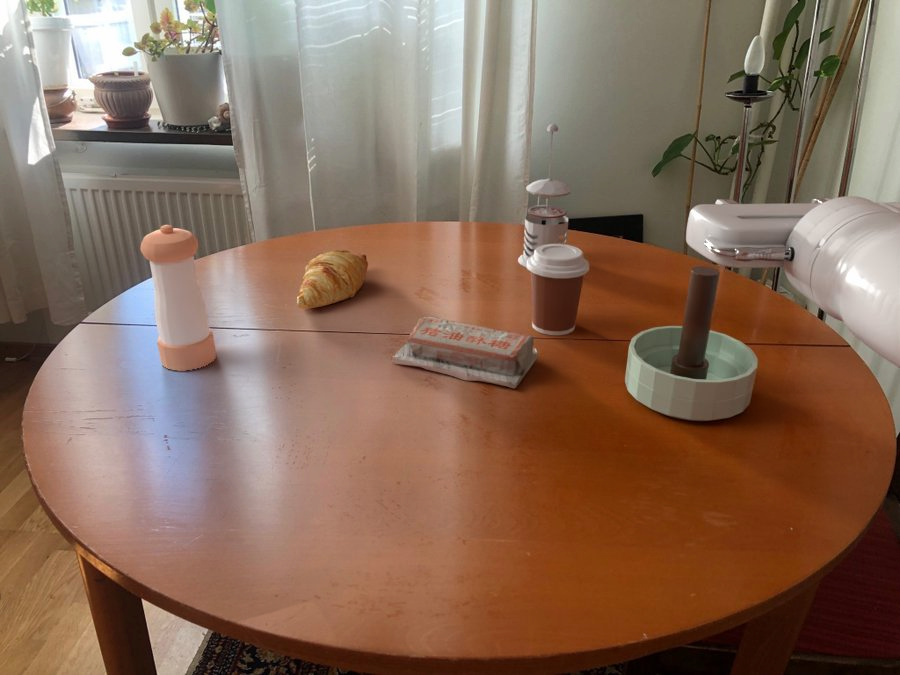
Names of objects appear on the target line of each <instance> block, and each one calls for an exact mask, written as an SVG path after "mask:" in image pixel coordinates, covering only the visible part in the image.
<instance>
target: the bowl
mask: <svg viewBox="0 0 900 675" xmlns="http://www.w3.org/2000/svg"><path fill="white" fill-rule="evenodd" d="M682 326H683V325H667V326H666V325H665V326H664V325H663V326H656V327H651V328H648V329H645V330H642V331H640V332H638V333H637V334H636V335H634V336H633V337H631V340H630V342H629V345H628V351H627V360H626V368H625V377H624V383H625V386H626V389H627V392H628V393H629V394H630V396H632V397H633V398H634V399H635V400H636V401H637V402H639V403H641V404H642V405H644V406H646V407H647V408H649V409H650V410H652V411H654V412H657V413H658V414H661V415H665V416H667V417H671V418H675V419H679V420H684V421H694V422H710V421H716V420H717V421H718V420H723V419H724V420H725V419H729V418H731V417H734V416H737V415H739V414H741V413H743V412H744V411H745V410H746V409H747V408H748V407H749V406H750V404H751V400H752V396H753V395H752V394H753V390H754V385H755V382H756V381H755V380H756V375H757V370H758V364H759V363H758V362H759V358H758V356H757V355H756V354H755V352H754V350H753V349H752V348H750V347H749V346H748V345H746V344H745V343H744V342H742V341H741V340H738V339H737V338H734V337H732V336H730V335H728V334H725V333H722V332H718V331H716V330H711V329H710V332H709V337H708V343H707V349H706V354H705V359H707V360H708V362H709V367H708V372H707V378H706V380H703V379H692V378H687V377H681V376H676V375H673V374H670V371H671V364H672V358H673V356H675V355H676V354H678V352H679V345H680V339H681V333H682Z"/></svg>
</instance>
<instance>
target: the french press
mask: <svg viewBox="0 0 900 675" xmlns="http://www.w3.org/2000/svg"><path fill="white" fill-rule="evenodd" d="M546 131H547V132H551V133H550V134H551V135H550V152H549V165H548V178H546V179H538V180H535V181H533V182H531V183H529V184H528V185H527V186H526V188H525V190H526V191H527V192H528V193H529V194H531V195H534V196H537V205H533V206H530V207H528V208H527V213H528V215H526V216H525V218H524V235H523V236H524V237H523V253H522V254H521V255H520V256H519V257H518V259H517V262H518V263H519V265H520V266H522V267H525V268H527V260H528V259H529V258H530V257H531V256H533V255H534V250H535V249H536V248H538V247H539V246H542V245H547V244H563V243H564V244H565V245H568V244H567V243H568V241H567V240H568V230H569V229H568V228H569V218H568V217H567V216H566V215H567V214H568V210H567V209H565V208H564V207H561V206H560V205H559V206H558V205H550V204H549V201H550V200H549V198H560V197H565V196H568V195H570V194H571V192H572V191H573V190H572V188H571V187H570V186H569V185H568V184H566V183H565V182H563V181H560V180H557V179H553V178H551V169H552V168H551V167H552V156H553V141H554V140H553V137H554V133H555V132H558V131H559V127H558V125H557V124H555V123H550V124H549V125H547V128H546ZM541 199H545V200H546V204H540V200H541ZM543 219H545V224H542V221H543ZM560 236H562V237H563V238H560Z"/></svg>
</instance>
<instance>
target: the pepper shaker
mask: <svg viewBox="0 0 900 675" xmlns="http://www.w3.org/2000/svg"><path fill="white" fill-rule="evenodd" d="M198 248H199V241H198V239H197V237H195V235H194V234H193V233H192V232H191V231H189V230H186V229H182V228H178V227H173V226H172V225H170V224H164V225H162V226H160V228H159V229H156V230H153V231H152V232H150V233H148V234H146V235H145V236H143V239H142V241H141V243H140V249H139V250H140V252H141V254H142V255H143V257H144V258H145V259H146V260H147V261H149V265H150V266H149V267H150V272H151V277H152V283H153V289H154V319H155V324H156V329H157V332H158V337H157V341H156V344H157V350H158V354H159V358H160V364H161V363H162V364H161V365H163V366H164V367H166V368H168V369H172V370H178V371H177V372H187V371H186V370H190V371H193V370H192V369H195V370H198V369H197V368H199V369H202V368H204V367H207V366H209V365H210V364H212V363H214V361H215V360H216V358H217V350H216V343H215V337H214V333H213V331H212V330H211V329H210V323H209V316H208V314H209V313H208V308H207V306H206V305H207V304H206V302H205V299H204V297H203V294H202V290H201V288H200V284H199V279H198V274H197V273H198V272H197V268H196V261H195V255H196V254H197V253H198ZM214 359H215V360H214ZM211 362H212V363H211ZM209 363H210V364H209ZM208 364H209V365H208ZM206 365H207V366H206ZM163 366H162V367H163ZM203 366H204V367H203ZM164 367H163V368H164ZM201 367H202V368H201ZM166 368H165V369H166ZM168 369H167V370H168ZM172 370H171V371H172Z"/></svg>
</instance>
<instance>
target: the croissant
mask: <svg viewBox="0 0 900 675" xmlns="http://www.w3.org/2000/svg"><path fill="white" fill-rule="evenodd" d="M368 267H369V262H368V260H367V255H366V254H363V253H351V252H350V251H349V250H329V251H326V252H322V253H321V254H318V255H316V256H314V257H313V258H312V259H311V260H309V262H308V263H307V265H306V266H305V268H304V269H305V274H304V275H303V276H302V284H301V285H300V287H299V294H298V295H297V296H296V300H297V301H296V305H297V306H298V307H299V308H300V309H305V310H306V309H308V310H309V309H314V308H322V307H325V306H328V305H332V304H335V303H338V302H341V301H344V300H347V299H351V298H353V297H354V296H355V295H356V293H357V292H358V291H359V290H360V289H361V288H362V286H363V284H364V281H365V277H366V274H367V270H368Z"/></svg>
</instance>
